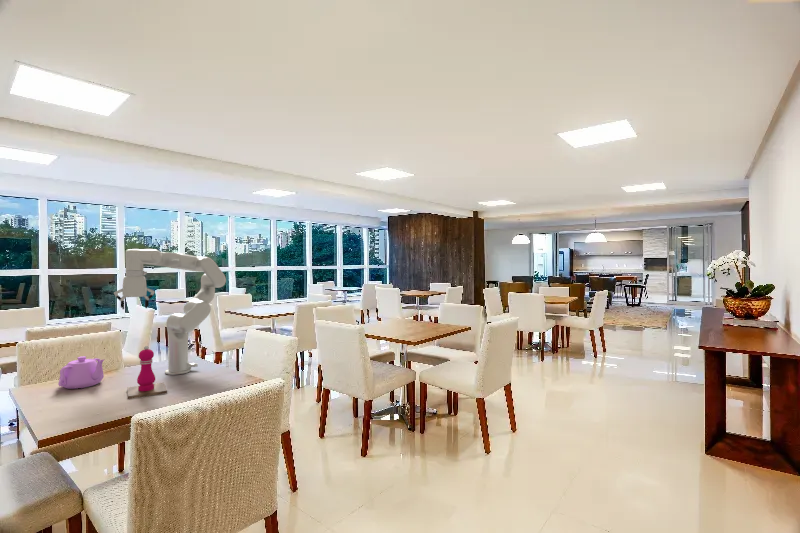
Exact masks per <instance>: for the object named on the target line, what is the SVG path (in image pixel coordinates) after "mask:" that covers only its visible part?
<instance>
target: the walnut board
mask: <svg viewBox="0 0 800 533" xmlns="http://www.w3.org/2000/svg"><path fill="white" fill-rule="evenodd" d="M153 384H154V389H153V390H150V391H139V390H138V387H139V386H140V385H137V386H135V385H134V386H128V387H127V399H128V400H132V399H137V398H145V397H151V396H157V395H165V394H168V389H167V387H166V384H165V382H159V383H157V382H156V383H153Z"/></svg>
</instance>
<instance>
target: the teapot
mask: <svg viewBox="0 0 800 533" xmlns="http://www.w3.org/2000/svg"><path fill="white" fill-rule="evenodd" d="M76 358H77V359H75V360H71V361H69V362H68V363H67V364H66V365H65V366H62V368H61V369H60V370H59V374H60V375H59V379H58V384H57V385H58V386H59V387H62V388H64V389H71V390H72V389H78V388H81V389H84V388H88V387H92V386H95V385H98V384H100V383H101V381H102V380H103V379H104V371H103V370H104V369H103V362H104V360H105V358H104V359H101V358H87V356H84V355H83V356H78V357H76Z"/></svg>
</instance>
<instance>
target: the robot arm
mask: <svg viewBox="0 0 800 533" xmlns="http://www.w3.org/2000/svg"><path fill="white" fill-rule="evenodd" d="M144 265H151V266H157V267H165V268H171V269H176V270H183V271H192V272H196V273H197V272H198V273H199V272H200V273H203V274H202V275H201V278H200V289H199V291H198V292H197V293H196V294H195V295H193V297H192V298H191V299H190V300H188V301H187V302H186V304H184V306H183V312H184V313H181V312H180V313H179V312H176V313H172V314H170V315H169V316H168V317H167V319H166V324H165V325H166V326H165V327H166V331H167V341H168V343H167V348H168V350H167V352H168V353H167V354H168V355H167V356H168V357H167V361H168V362H167V363H168V364H167V365H168V366H167V368H168V369H166V370H165V371H164V374H166V375H170V376H171V375H173V376H175V375H183V374H187V373H190V372H192V368H196V367H198V362H192V363H191V362H189V335H188V333H191V332H193V331H194V330H195V329H197V328H198V327H199V326H200V325H201V323H203V322H204V321H205V320H206V319H207V318H208V317H209V315H210V314H211V308H212V306H211V304H210V303H211V302H212V301H213V300H214V298H215V295H216V289H217V288H218V289H220V288H222V287H224V286H225V285H226V282H227V279H226V278H227V277H226V275H225V273H224V272H223V271H222V270H221V269H220V267H219V266H218V265H217V263H216V262H215V261H214V260H213V259H212V258H211V257H208V256H197V255H191V254H187V253H181V252H165V251H164V252H163V251H160V250H158V249H155V248H154V249H153V248H144V249H139V248H132V249H131V248H130V249H126V251H125V276H123V279H122V288H120V289H118V290H116V291H114V292H113V295H114V297H115V298H116V299H117V300H118V301H120V308H122V310H125V299H126V298H140V297H141V298H144V299H145V300H144V308H145V309H148V307H149V304H150V302H149V300H150V299H151V298H153V296H154V294H155V293H156V291H155V290H154V289H150V288H148V286H147V280H146V279H147V278H146V276H145V275H147V274H148V272H147V271H145V270H144ZM147 292H149V293H150V294H149V295H148V294H147ZM120 293H122V297H121V296H119V294H120ZM147 295H148V296H147Z"/></svg>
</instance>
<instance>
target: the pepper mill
mask: <svg viewBox="0 0 800 533" xmlns="http://www.w3.org/2000/svg"><path fill="white" fill-rule="evenodd" d="M154 356H155V353H154V351H153V350H152V349H150V348H149V345H145V346H143V349H142V350H141V351H140V352H138V358H139V364H140V366H141V367H140V372H139V373H138V377H137V379H136V382H137V384H138V386H139V387H138V390H139V391H150V390H153V389H154V384H155V382H156V376H155V373H154V372H153V368H152V364H153V358H154Z"/></svg>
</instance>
